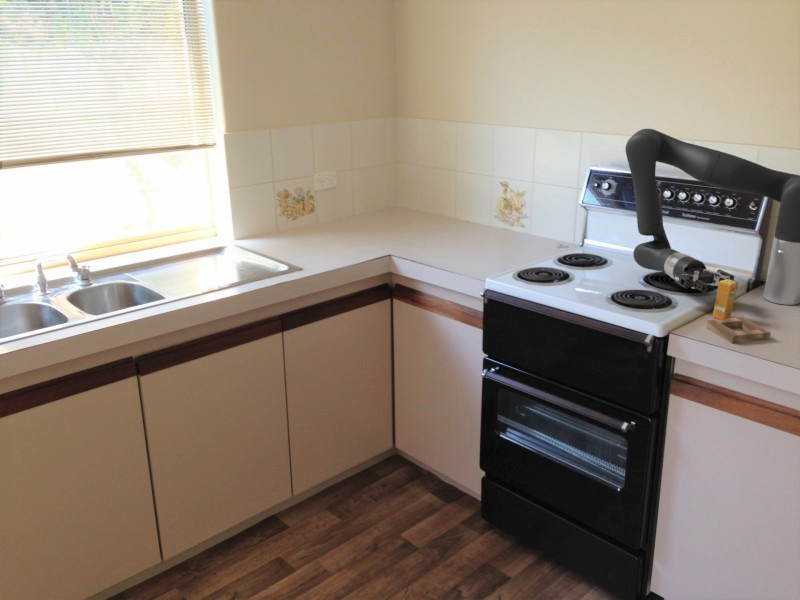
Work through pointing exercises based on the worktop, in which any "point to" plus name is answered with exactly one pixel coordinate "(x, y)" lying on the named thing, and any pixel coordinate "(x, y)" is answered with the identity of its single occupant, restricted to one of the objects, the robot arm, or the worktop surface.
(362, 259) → the worktop surface
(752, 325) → the socket board
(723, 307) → the supplement box
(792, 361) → the worktop surface
